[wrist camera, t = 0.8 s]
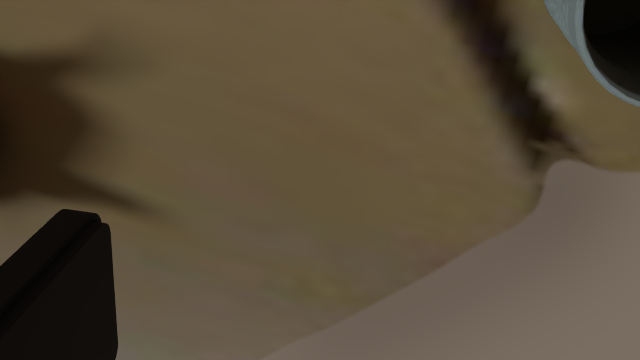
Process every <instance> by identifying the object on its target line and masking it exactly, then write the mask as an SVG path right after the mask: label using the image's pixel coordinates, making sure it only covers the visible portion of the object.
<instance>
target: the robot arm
mask: <svg viewBox="0 0 640 360" xmlns="http://www.w3.org/2000/svg"><path fill="white" fill-rule="evenodd" d="M117 349H118V337H117V322H116V307H115V292H114V277H113V262H112V247H111V232H110V227H109V225H108V224H106V223H101V219H100V217H99V215H98V214H96V213H90V212H83V211H76V210H69V209H62V210H60V211H59V212H58V213H57V214H55V215H54V216H53V217H52V218H51V219H50V220H49V221H48V222H47V223H46V224H45V225H44V226H43V227H42V228H41V229H39V230H38V231H37V232H36V233H35V234H34V235H33V236H32V237H31V238H30V239H29V240H28V241H27V242H26V243H25V244H23V245H22V246H21V247H20V248H19V249H18V250H17V251H16V252H15V253H14V254H13V255H12V256H11V257H10V258H9V259H7V260H6V261H5V262H4V263H3V264H2V265H1V266H0V360H115V358H116V355H117Z"/></svg>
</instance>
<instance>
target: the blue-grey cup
mask: <svg viewBox="0 0 640 360" xmlns="http://www.w3.org/2000/svg"><path fill="white" fill-rule="evenodd" d="M544 2H545V5H546V8H547V10H548V11H549V13H550V15H551V17H552V18H553V19H554V21H555V22H556V24H557V25H558V26H559V28H560V29H561V30H562V32H563V34H564V36H565V37H566V38H567V39H568V41H569V42H570V44H571V45H572V46H573V47H574V48H575V49H576V51H577V52H578V54H579V55H580V57H581V59H582V60H583V62H584V63H585V65H586V66H587V68H588V69H589V71H590V72H591V73H592V75H593V76H594V77H595V79H596V80H597V81H598V82H599V83H600V84H601V85H602V86H603V87H605V88H606V89H607V90H608V91H609V92H610V93H612V94H614V95H615V96H617V97H618V98H620V99H621V100H624V101H626V102H628V103H630V104H632V105H635V106H638V107H640V0H544Z"/></svg>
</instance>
